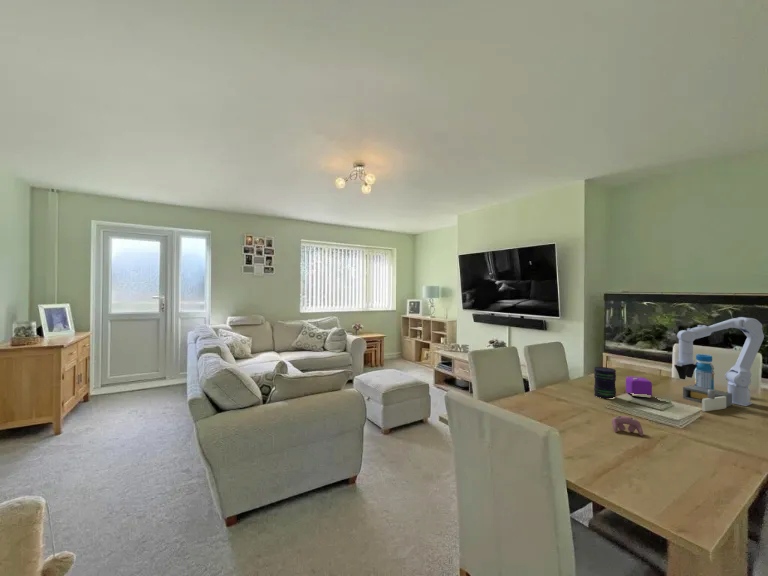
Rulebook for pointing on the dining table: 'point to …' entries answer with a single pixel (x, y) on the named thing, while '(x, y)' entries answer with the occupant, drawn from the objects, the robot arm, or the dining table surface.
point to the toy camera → (638, 385)
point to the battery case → (704, 394)
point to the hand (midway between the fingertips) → (685, 378)
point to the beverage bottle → (704, 372)
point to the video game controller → (621, 420)
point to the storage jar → (604, 382)
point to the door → (713, 402)
